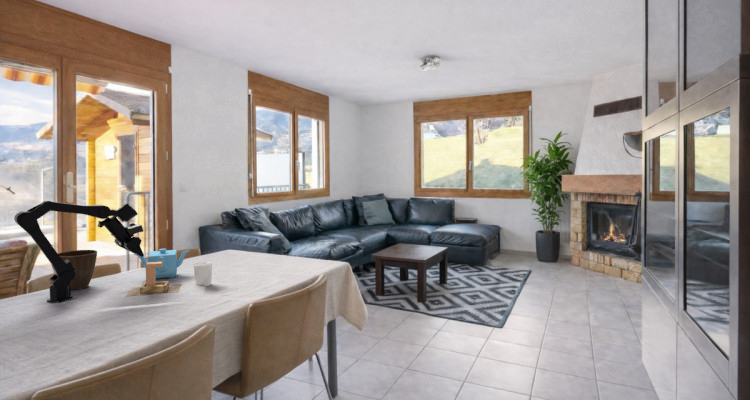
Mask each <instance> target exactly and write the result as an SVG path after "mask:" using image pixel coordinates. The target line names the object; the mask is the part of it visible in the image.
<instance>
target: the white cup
mask: <svg viewBox="0 0 750 400" xmlns="http://www.w3.org/2000/svg"><path fill="white" fill-rule="evenodd" d="M193 271H194V280H195V281H194V282H195V285H198V286H203V287H204V288H205V287H209V286H211V285H212V278H213V277H212V274H213V263H212V262H211V261H210V262H209V261H206V262H205V261H204V262H202V261H201V262H197V263H194V264H193Z"/></svg>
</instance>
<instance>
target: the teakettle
mask: <svg viewBox="0 0 750 400" xmlns="http://www.w3.org/2000/svg"><path fill="white" fill-rule="evenodd" d="M177 251H178V250H177V249H167V248H159V249H158V250H153V251H149V253H148V257H147V260H146V259H145V258H146V257H145V255H144V256H143V257H141V256H139V255H137V254H134V253H133V256H137V257H138V258H139V260H140V261H141V263H142V264H141V265H142V266H143V267H144V269H146V263H147V262H163V265H162V267H155V278H156V280H160V279H163V278H167V279H175V278H176V277H177V276H178V275H177V273H178V268H179V267H180V266H181V265H182V264H183V263H184V259H185V256H186V254H187V253H188V252H190V251H191V250H189V249H188V250H184V251H182V252H181V255H180V257H179V258H178V254H177Z"/></svg>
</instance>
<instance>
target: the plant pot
mask: <svg viewBox="0 0 750 400" xmlns="http://www.w3.org/2000/svg"><path fill="white" fill-rule="evenodd" d="M57 253H58V252H57ZM58 255H59V256H60V257H61V259H62V260H63V261H65V260H69V261H70V262H71V264H72V266H73V267H74V268H75V269H76V270H74V271H75V273H76V275H75V277H74V279H73V280H71V282H70V287H71V291H72V290H73V291H74V290H76V291H77V289H78V290H83V289H86V288H88V287H89V285H90V282H91V281H92V277H93V275H94V271H95V267H96V263H97V257H98V251H97V250H96V249H95V250H94V249H79V250H77V249H76V250H70V251H63V252H59V253H58Z"/></svg>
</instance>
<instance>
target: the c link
mask: <svg viewBox="0 0 750 400" xmlns="http://www.w3.org/2000/svg"><path fill="white" fill-rule="evenodd" d="M162 265H163V262H148V261H147V263H146V268H145V283H146V287H148V286H162V285H156V282H157V279H156V278H155V267H162Z"/></svg>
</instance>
